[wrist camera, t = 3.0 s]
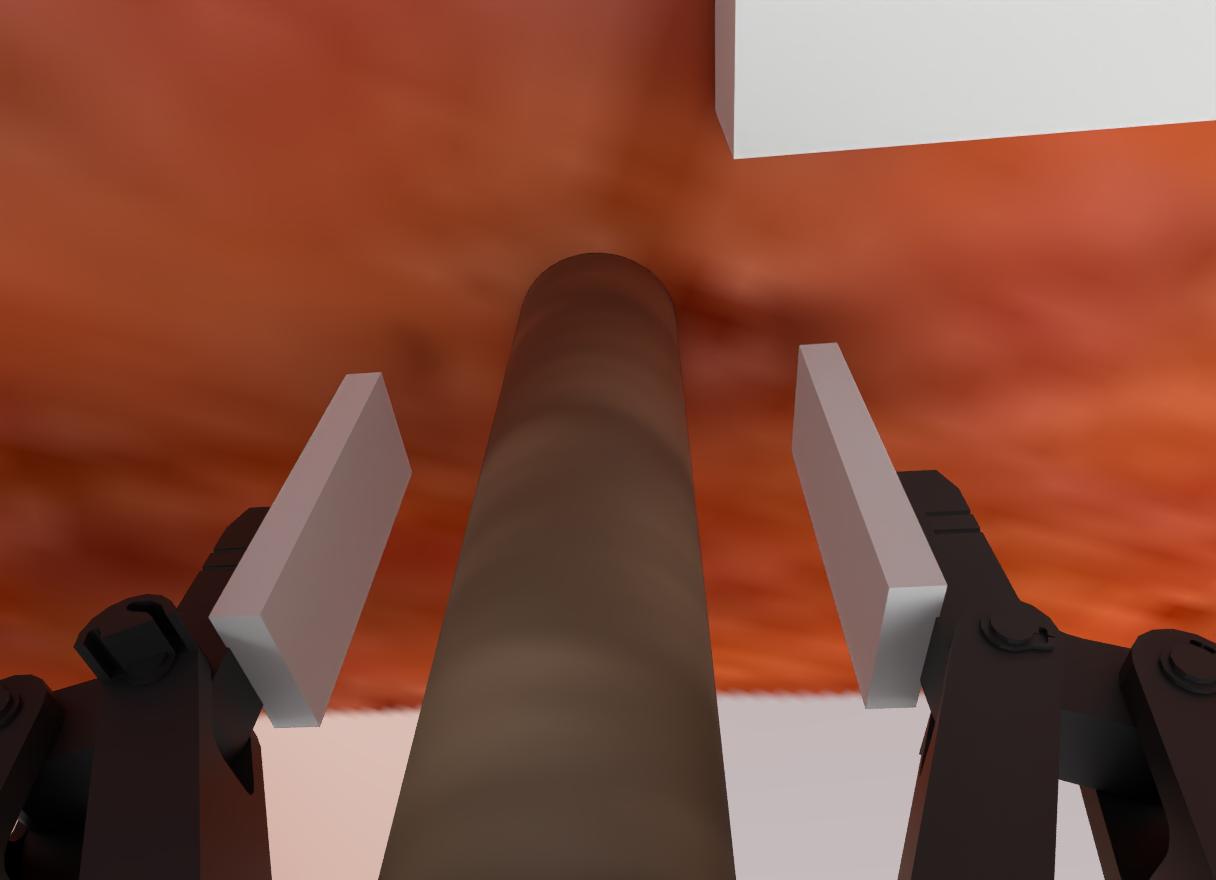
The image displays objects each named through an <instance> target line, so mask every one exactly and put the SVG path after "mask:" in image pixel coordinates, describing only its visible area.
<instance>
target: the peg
mask: <svg viewBox="0 0 1216 880" xmlns="http://www.w3.org/2000/svg"><path fill="white" fill-rule="evenodd" d="M378 880H736V875H735V866H734V856H733V847H732V838H731V828H730V819H729V810H728V800H727V791H726V782H725V772H724V764H723V754H722V744H721V735H720V726H719V717H718V707H717V698H716V689H715V679H714V670H713V661H712V651H711V642H710V633H709V623H708V614H707V605H706V595H705V586H704V577H703V567H702V558H701V549H700V539H699V530H698V521H697V511H696V502H695V493H694V484H693V474H692V465H691V456H690V446H689V437H688V428H687V418H686V409H685V400H684V390H683V381H682V372H681V362H680V353H679V344H678V334H677V325H676V316H675V310H674V306H673V303H672V301H671V298H670V296H669V294H668V292H667V291H666V289H665V287H664V286H663V285H662V283H661V282H660V281H659V280H658V279H657V278H656V277H655V276H654V275H653V274H652V273H651V272H650V271H649V270H647V269H646V268H644V267H643V266H641V265H640V264H638V263H636V262H634V261H632V260H629V259H627V258H624V257H621V256H617V255H613V254H605V253H588V254H581V255H577V256H573V257H569V258H567V259H565V260H562V261H560V262H558V263H556V264H554V265H553V266H551V267H550V268H548V269H547V270H546V271H544V272H543V273H542V274H541V275H540V276H539V277H538V278H537V279H536V280H535V282H534V283H533V284H532V286H531V287H530V289H529V291H528V293H527V295H526V297H525V299H524V302H523V305H522V309H521V313H520V317H519V321H518V325H517V329H516V333H515V337H514V341H513V345H512V349H511V353H510V357H509V361H508V365H507V369H506V373H505V377H504V381H503V385H502V389H501V393H500V397H499V401H498V405H497V409H496V413H495V417H494V421H493V425H492V429H491V433H490V437H489V440H488V444H487V448H486V452H485V456H484V460H483V464H482V468H481V472H480V476H479V480H478V484H477V488H476V492H475V496H474V500H473V504H472V508H471V512H470V516H469V520H468V524H467V528H466V532H465V536H464V540H463V544H462V548H461V552H460V556H459V560H458V564H457V568H456V572H455V576H454V580H453V584H452V588H451V592H450V596H449V600H448V604H447V608H446V612H445V616H444V620H443V624H442V628H441V632H440V636H439V640H438V644H437V648H436V652H435V655H434V659H433V663H432V667H431V671H430V675H429V679H428V683H427V687H426V691H425V695H424V699H423V703H422V707H421V711H420V715H419V719H418V723H417V727H416V731H415V735H414V739H413V743H412V747H411V751H410V755H409V759H408V763H407V767H406V771H405V775H404V779H403V783H402V787H401V791H400V795H399V799H398V803H397V807H396V811H395V815H394V819H393V823H392V827H391V831H390V835H389V839H388V843H387V847H386V851H385V855H384V859H383V863H382V867H381V871H380V875H379V878H378Z"/></svg>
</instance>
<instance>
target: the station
mask: <svg viewBox="0 0 1216 880" xmlns="http://www.w3.org/2000/svg"><path fill="white" fill-rule="evenodd" d="M715 112H716V114H717V117H718V120H719V122H720V125H721V127H722V130H723V133H724V135H725V138H726V140H727V143H728V146H729V148H730V151H731V154H732V156H733V159H743V158H755V157H767V156H780V155H792V154H804V153H816V152H829V151H841V150H853V149H866V148H878V147H890V146H902V145H915V144H927V143H939V142H952V141H964V140H976V139H988V138H1001V137H1013V136H1025V135H1038V134H1050V133H1062V132H1074V131H1087V130H1099V129H1111V128H1124V127H1136V126H1148V125H1161V124H1173V123H1185V122H1197V121H1210V120H1216V0H715Z"/></svg>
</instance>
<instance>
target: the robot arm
mask: <svg viewBox="0 0 1216 880" xmlns="http://www.w3.org/2000/svg"><path fill="white" fill-rule="evenodd" d="M791 452H792V455H793V459H794V462H795V466H796V469H797V472H798V476H799V479H800V483H801V486H802V490H803V493H804V497H805V500H806V504H807V507H808V511H809V514H810V518H811V521H812V525H813V528H814V532H815V535H816V538H817V542H818V545H819V549H820V552H821V556H822V559H823V563H824V566H825V570H826V573H827V577H828V580H829V584H830V587H831V591H832V594H833V598H834V601H835V604H836V608H837V611H838V615H839V618H840V622H841V625H842V629H843V632H844V636H845V639H846V643H847V646H848V650H849V653H850V657H851V660H852V664H853V667H854V670H855V674H856V677H857V681H858V684H859V688H860V691H861V695H862V698H863V702H864V705H865V708H866V709H876V708H877V709H878V708H908V707H916V704H917V700H918V696H919V693H920V689H921V685H922V688H923V691H924V693H925V696H926V699H927V702H928V704H929V707H930V710H931V714H930V717H929V721H928V725H927V728H926V732H925V736H924V738H923V742H922V746H921V749H920V753H919V754H920V755H921V761H920V766H919V771H918V776H917V781H916V787H915V792H914V797H913V802H912V807H911V813H910V818H909V823H908V828H907V833H906V838H905V844H904V849H903V854H902V859H901V865H900V870H899V875H898V880H1054V872H1055V848H1056V824H1057V801H1058V779H1059V780H1063V781H1067V782H1071V783H1074V784H1078V785H1080V789H1081V793H1082V796H1083V800H1084V804H1085V808H1086V811H1087V815H1088V819H1089V822H1090V826H1091V830H1092V833H1093V837H1094V841H1095V845H1096V848H1097V852H1098V856H1099V860H1100V863H1101V867H1102V871H1103V875H1104V878H1105V880H1216V643H1214V642H1211V641H1209V640H1207V639H1205V638H1203V637H1201V636H1199V635H1197V634H1192V633H1188V632H1184V631H1179V630H1175V629H1158V630H1151V631H1149V632H1147V633H1144V634H1142V635H1140V636H1138V638H1137V639H1136V641H1135V643H1134V644H1133V646H1132V647H1131V649H1130V648H1125V647H1120V646H1116V645H1111V644H1106V643H1101V642H1096V641H1092V640H1087V639H1082V638H1079V637H1075V636H1072V635H1069V634H1066V633H1063V632H1061V631H1059V630H1058V628H1057V627H1056V626H1055V624H1054V623H1053V622H1052V620H1051V619H1050V618H1049V617H1048V616H1046V615H1045V614H1044V613H1042V612H1041V611H1039V610H1038V609H1037V608H1035V607H1034V606H1032V605H1030V604H1027V603H1025V602H1022V601H1020V599H1019V598H1018V597H1017V595H1016V593H1015V591H1014V589H1013V587H1012V586H1011V584H1010V582H1009V580H1008V578H1007V576H1006V575H1005V573H1004V571H1003V569H1002V567H1001V565H1000V564H999V562H998V560H997V558H996V556H995V554H994V553H993V551H992V549H991V547H990V545H989V543H988V542H987V540H986V538H985V536H984V534H983V532H982V533H981V532H980V527H979V525H978V523H977V521H976V520H975V518H974V516H973V514H972V515H971V514H970V509H969V507H968V505H967V503H966V501H965V499H964V498H963V496H962V494H961V492H960V490H959V488H957V487H956V486H955V485H954V484H953V483H951V482H950V481H949V480H948V479H946V478H945V477H944V476H943V475H942V474H940V473H939V472H938V471H937V470H924V471H905V472H896V471H895V469H894V467H893V465H892V462H891V460H890V458H889V456H888V454H887V451H886V449H885V447H884V445H883V443H882V440H881V438H880V436H879V434H878V432H877V429H876V427H875V425H874V423H873V421H872V418H871V416H870V414H869V412H868V410H867V407H866V405H865V403H864V401H863V399H862V396H861V394H860V392H859V390H858V388H857V385H856V383H855V381H854V379H853V377H852V374H851V372H850V370H849V368H848V366H847V363H846V361H845V359H844V357H843V355H842V352H841V350H840V348H839V346H838V344H837V343H823V344H808V345H799V355H798V368H797V382H796V396H795V410H794V423H793V437H792V451H791ZM411 474H412V470H411V467H410V464H409V460H408V457H407V454H406V451H405V447H404V444H403V441H402V438H401V434H400V431H399V428H398V425H397V421H396V418H395V415H394V412H393V408H392V405H391V402H390V399H389V395H388V392H387V389H386V386H385V382H384V379H383V376H382V373H381V372H374V373H358V374H346V376H345V378H344V379H343V381H342V383H341V385H340V386H339V388H338V390H337V392H336V393H335V395H334V397H333V399H332V400H331V402H330V404H329V406H328V407H327V409H326V411H325V413H324V415H323V416H322V418H321V420H320V422H319V423H318V425H317V427H316V429H315V430H314V432H313V434H312V436H311V437H310V439H309V441H308V443H307V444H306V446H305V448H304V450H303V451H302V453H301V455H300V457H299V458H298V460H297V462H296V464H295V466H294V467H293V469H292V471H291V473H290V474H289V476H288V478H287V480H286V481H285V483H284V485H283V487H282V488H281V490H280V492H279V494H278V495H277V497H276V499H275V501H274V502H273V504H272V506H271V507H257V508H249V509H248V510H246V511H245V512H244V513H243V514H242V515H241V516H240V517H238V518H237V519H236V520H235V521H234V522H233V523H232V524H230V525H229V526H228V527H227V528H226V530H225V531H224V533H223V535H222V536H221V538H220V539H219V541H218V543H217V544H216V546H215V548H214V553H211V554H210V556H209V557H208V559H207V560H206V562H205V564H204V565H203V571H200V572H199V573H198V575H197V577H196V578H195V580H194V581H193V583H192V585H191V586H190V588H189V590H188V591H187V593H186V594H185V596H184V598H183V599H182V601H181V603H180V604H179V606H178V607H177V609H176V607H175V606H174V604H173V603H172V601H170V600H169V599H167V598H165V597H164V596H162V595H152V594H145V595H140V596H135V597H131V598H127V599H125V600H123V601H121V602H119V603H116V604H114V605H112V606H110V607H108V608H107V609H105V610H104V611H103V612H101V613H100V614H98V615H97V616H96V617H94V618H93V619H92V620H91V621H90V622H89V623H88V624H87V625H86V627H85V628H84V629H83V630H82V631H81V632H80V633H79V636H78V638H77V641H76V643H75V645H74V648H75V650H76V651H77V652H78V653H79V655H80V656H81V657H82V658H83V660H84V661H85V662H86V664H87V665H88V666H89V667H90V669H91V670H92V671H93V672H94V674H95V675H96V676H97V679H93V680H90V681H87V682H83V683H80V684H77V685H73V686H70V687H67V688H63V689H60V690H56V691H52V690H51V689H50V688H49V687H48V686H47V684H46V683H45V682H44V681H43V680H42V679H40V678H38V677H36V676H33V675H14V676H11V677H8V678H5V679H2V680H0V880H272V876H271V865H270V852H269V841H268V828H267V816H266V805H265V792H264V781H263V769H262V757H261V746H260V744H259V741H258V738H257V736H256V734H255V733H254V731H253V727H254V725H255V723H256V721H257V718H258V716H259V714H260V712H261V709H262V707H263V709H264V711H265V712H266V714H267V716H268V717H269V719H270V721H271V722H272V724H273V726H274V727H275V728H289V727H320V725H321V722H322V719H323V717H324V714H325V711H326V708H327V706H328V703H329V700H330V697H331V695H332V692H333V689H334V686H335V684H336V681H337V678H338V675H339V673H340V670H341V667H342V664H343V662H344V659H345V656H346V653H347V651H348V648H349V645H350V642H351V640H352V637H353V634H354V631H355V629H356V626H357V623H358V620H359V618H360V615H361V612H362V609H363V606H364V604H365V601H366V598H367V595H368V593H369V590H370V587H371V584H372V582H373V579H374V576H375V573H376V571H377V568H378V565H379V562H380V560H381V557H382V554H383V551H384V549H385V546H386V543H387V540H388V538H389V535H390V532H391V529H392V527H393V524H394V521H395V518H396V516H397V513H398V510H399V507H400V505H401V502H402V499H403V496H404V494H405V491H406V488H407V485H408V483H409V480H410V477H411ZM17 819H18V822H17V824H16V821H17ZM15 824H16V826H15ZM14 826H15V829H14V831H13V832H12V830H13V828H14ZM11 832H12V834H11Z"/></svg>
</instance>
